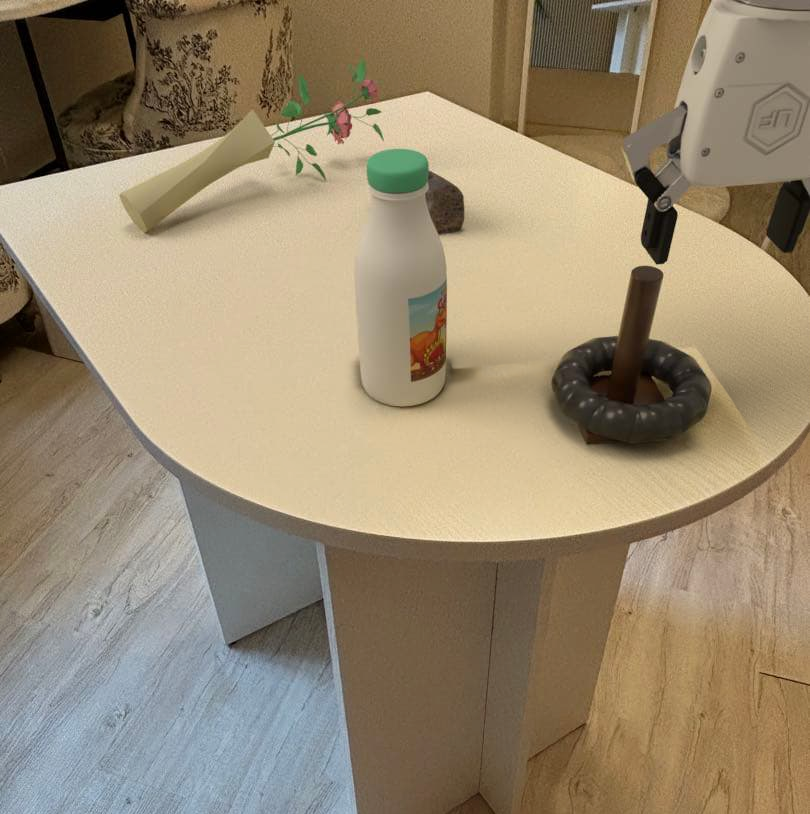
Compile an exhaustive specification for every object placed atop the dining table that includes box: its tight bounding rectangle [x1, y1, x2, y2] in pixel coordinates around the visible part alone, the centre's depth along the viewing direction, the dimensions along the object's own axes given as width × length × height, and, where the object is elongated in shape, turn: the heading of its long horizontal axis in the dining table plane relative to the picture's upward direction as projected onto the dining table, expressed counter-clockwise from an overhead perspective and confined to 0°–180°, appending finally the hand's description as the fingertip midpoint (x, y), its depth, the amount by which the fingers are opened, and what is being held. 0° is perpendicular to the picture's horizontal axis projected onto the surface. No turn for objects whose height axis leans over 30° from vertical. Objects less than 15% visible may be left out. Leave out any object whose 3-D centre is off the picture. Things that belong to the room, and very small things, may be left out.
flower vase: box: [118, 58, 385, 234], centre depth 99 cm, size 12×12×35 cm
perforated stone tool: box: [425, 170, 465, 235], centre depth 92 cm, size 15×5×7 cm, turn 36°
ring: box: [550, 335, 712, 444], centre depth 68 cm, size 13×13×3 cm
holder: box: [576, 265, 666, 445], centre depth 65 cm, size 8×8×13 cm
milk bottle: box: [353, 148, 448, 407], centre depth 66 cm, size 8×8×20 cm
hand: (716, 250), depth 60 cm, fingers open, 9 cm apart
